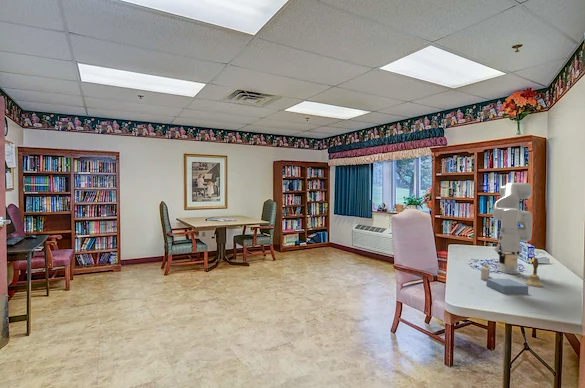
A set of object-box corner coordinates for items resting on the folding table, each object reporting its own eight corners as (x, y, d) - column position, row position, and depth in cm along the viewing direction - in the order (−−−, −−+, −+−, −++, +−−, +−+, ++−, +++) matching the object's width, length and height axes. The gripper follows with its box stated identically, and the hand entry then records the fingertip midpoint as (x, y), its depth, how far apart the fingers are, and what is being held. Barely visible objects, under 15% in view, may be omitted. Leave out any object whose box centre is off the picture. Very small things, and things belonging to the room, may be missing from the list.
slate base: (486, 285, 189) (486, 278, 189) (509, 285, 190) (509, 278, 190) (503, 293, 175) (503, 286, 175) (528, 293, 176) (528, 286, 176)
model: (481, 279, 203) (481, 267, 202) (483, 276, 211) (483, 264, 211) (486, 280, 201) (487, 268, 201) (489, 277, 209) (489, 265, 209)
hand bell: (540, 284, 195) (542, 257, 195) (544, 287, 188) (546, 260, 187) (524, 282, 199) (525, 256, 198) (527, 285, 191) (528, 258, 191)
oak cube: (498, 263, 185) (499, 252, 185) (508, 263, 185) (509, 252, 185) (506, 265, 179) (506, 254, 179) (516, 265, 179) (517, 254, 179)
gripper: (499, 231, 177) (497, 264, 178) (529, 232, 179) (527, 264, 179) (489, 229, 185) (488, 261, 185) (518, 230, 186) (517, 261, 186)
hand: (507, 262), depth 182 cm, fingers closed on oak cube, 6 cm apart
